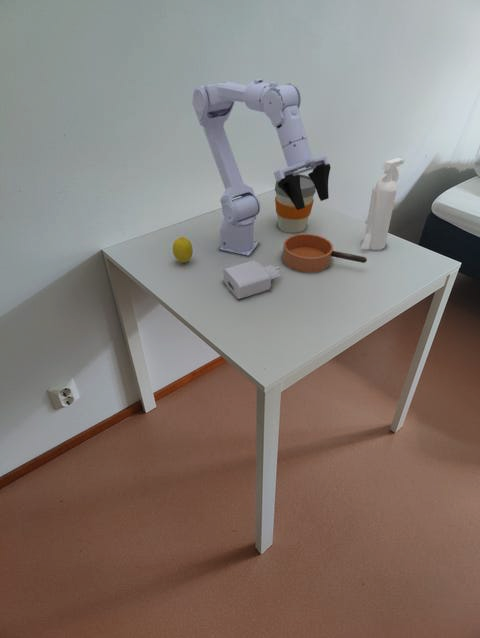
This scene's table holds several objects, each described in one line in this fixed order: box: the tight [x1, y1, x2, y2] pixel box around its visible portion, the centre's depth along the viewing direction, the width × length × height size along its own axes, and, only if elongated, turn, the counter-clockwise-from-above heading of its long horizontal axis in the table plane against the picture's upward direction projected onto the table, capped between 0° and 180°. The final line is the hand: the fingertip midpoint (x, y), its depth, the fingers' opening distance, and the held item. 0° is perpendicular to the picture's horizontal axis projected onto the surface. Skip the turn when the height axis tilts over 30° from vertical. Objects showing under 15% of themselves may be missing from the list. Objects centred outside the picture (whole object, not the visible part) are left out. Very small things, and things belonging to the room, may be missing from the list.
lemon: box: [172, 236, 194, 263], centre depth 113 cm, size 6×6×8 cm
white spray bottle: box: [360, 157, 405, 251], centre depth 115 cm, size 7×12×25 cm, turn 132°
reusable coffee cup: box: [274, 173, 317, 234], centre depth 128 cm, size 13×12×15 cm
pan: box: [282, 233, 334, 273], centre depth 115 cm, size 14×14×4 cm
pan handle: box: [328, 250, 368, 264], centre depth 111 cm, size 11×2×2 cm, turn 67°
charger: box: [222, 260, 284, 300], centre depth 106 cm, size 5×9×15 cm
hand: (313, 204), depth 92 cm, fingers open, 7 cm apart
